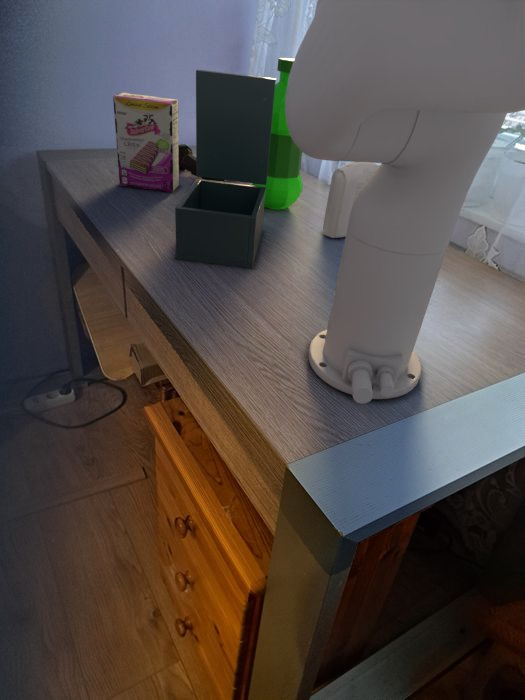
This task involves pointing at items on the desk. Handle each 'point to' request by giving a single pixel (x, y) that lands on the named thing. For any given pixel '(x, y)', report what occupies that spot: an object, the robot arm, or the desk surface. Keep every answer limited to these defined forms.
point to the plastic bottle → (282, 150)
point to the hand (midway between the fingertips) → (338, 147)
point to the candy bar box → (147, 141)
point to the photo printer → (345, 195)
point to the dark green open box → (220, 223)
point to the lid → (233, 126)
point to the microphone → (189, 161)
